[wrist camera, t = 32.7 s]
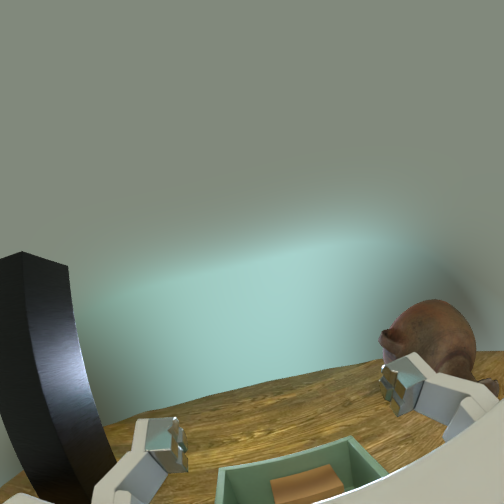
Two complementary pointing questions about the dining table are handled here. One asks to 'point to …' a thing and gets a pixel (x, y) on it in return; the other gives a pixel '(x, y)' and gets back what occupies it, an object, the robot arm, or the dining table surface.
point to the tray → (297, 471)
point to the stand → (47, 383)
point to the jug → (435, 340)
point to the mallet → (307, 486)
